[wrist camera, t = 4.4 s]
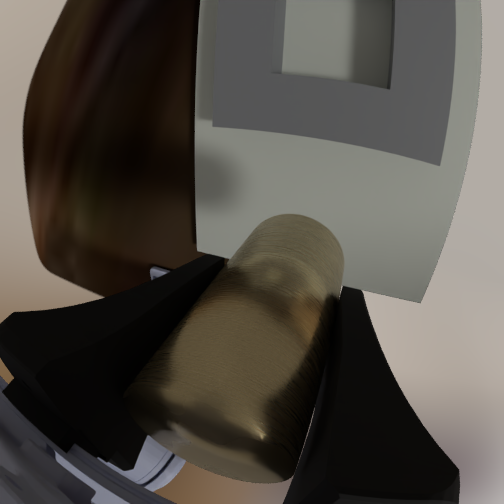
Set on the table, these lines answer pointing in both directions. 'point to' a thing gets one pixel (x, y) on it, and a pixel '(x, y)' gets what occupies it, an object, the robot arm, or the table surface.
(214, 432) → the brass rounded knob
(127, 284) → the table surface
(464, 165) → the socket plate
